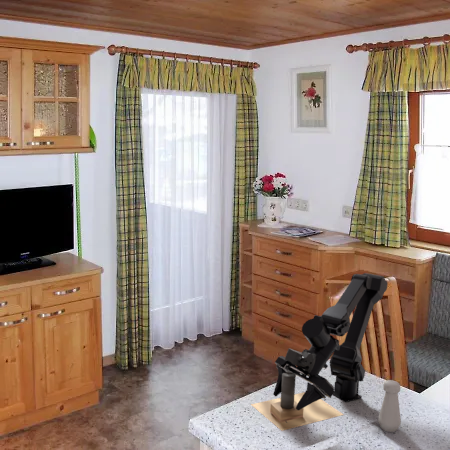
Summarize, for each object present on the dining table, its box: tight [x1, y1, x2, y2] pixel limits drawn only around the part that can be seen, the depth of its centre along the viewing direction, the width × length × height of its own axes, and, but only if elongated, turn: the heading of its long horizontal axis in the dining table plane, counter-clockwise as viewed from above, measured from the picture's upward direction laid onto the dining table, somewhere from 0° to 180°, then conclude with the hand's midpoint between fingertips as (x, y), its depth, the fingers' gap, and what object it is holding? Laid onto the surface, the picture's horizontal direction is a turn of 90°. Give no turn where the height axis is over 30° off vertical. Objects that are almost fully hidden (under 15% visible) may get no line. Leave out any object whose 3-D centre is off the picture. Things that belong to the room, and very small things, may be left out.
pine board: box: [250, 391, 345, 432], centre depth 161 cm, size 20×16×2 cm
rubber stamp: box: [270, 372, 304, 422], centre depth 156 cm, size 7×6×12 cm
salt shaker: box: [378, 379, 402, 433], centre depth 153 cm, size 6×6×13 cm
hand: (285, 402), depth 153 cm, fingers open, 9 cm apart
